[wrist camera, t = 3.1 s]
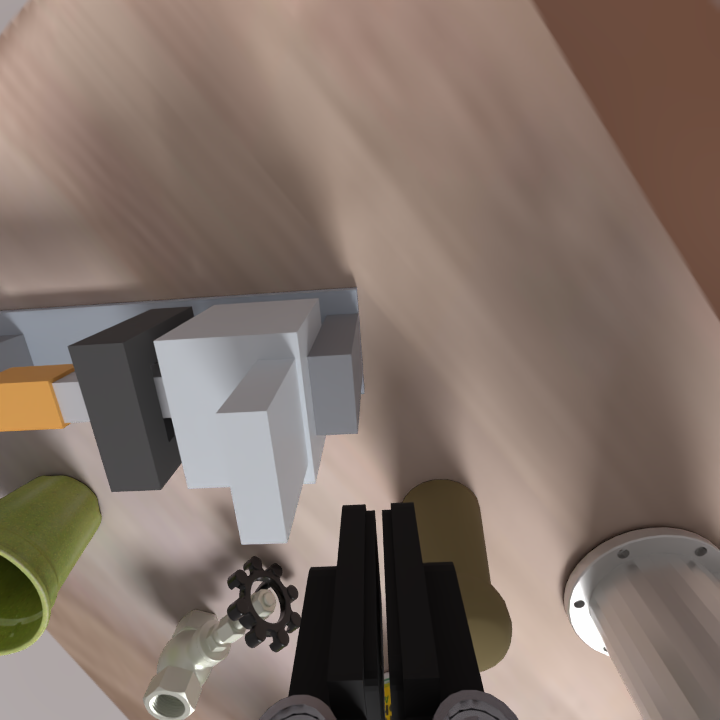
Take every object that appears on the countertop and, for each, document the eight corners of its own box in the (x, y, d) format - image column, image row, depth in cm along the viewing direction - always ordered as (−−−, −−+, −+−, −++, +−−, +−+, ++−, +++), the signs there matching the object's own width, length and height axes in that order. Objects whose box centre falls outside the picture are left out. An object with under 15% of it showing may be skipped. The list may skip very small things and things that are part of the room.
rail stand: (356, 287, 28) (348, 322, 19) (364, 389, 30) (360, 460, 21) (-4, 311, 29) (-161, 353, 20) (30, 406, 31) (-100, 480, 23)
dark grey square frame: (191, 306, 25) (122, 342, 18) (214, 419, 27) (160, 489, 20) (151, 308, 25) (67, 346, 18) (177, 421, 27) (111, 491, 21)
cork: (393, 485, 32) (402, 616, 22) (475, 473, 32) (524, 602, 21) (406, 549, 34) (419, 698, 24) (483, 540, 34) (532, 687, 23)
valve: (215, 656, 39) (308, 587, 36) (185, 741, 33) (294, 666, 30) (157, 615, 38) (248, 539, 35) (113, 695, 31) (221, 611, 28)
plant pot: (39, 429, 32) (-78, 506, 24) (147, 503, 34) (74, 598, 25) (-17, 507, 34) (-140, 601, 26) (87, 572, 36) (3, 678, 28)
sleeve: (318, 298, 24) (268, 377, 13) (330, 413, 27) (296, 568, 15) (214, 305, 25) (74, 387, 13) (235, 418, 27) (131, 573, 16)
